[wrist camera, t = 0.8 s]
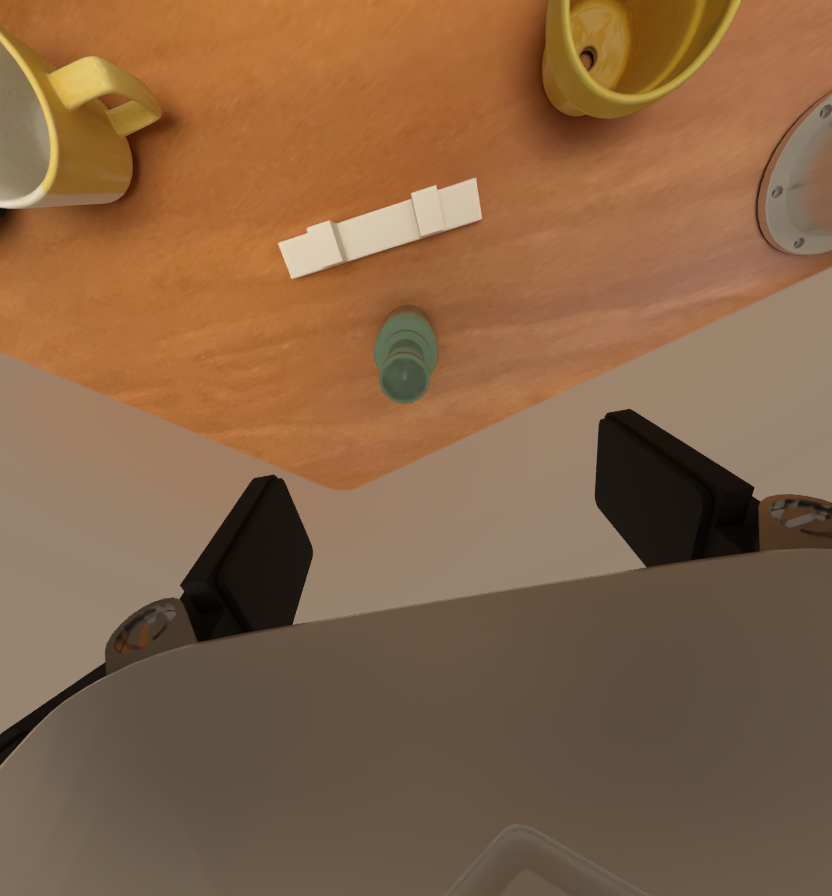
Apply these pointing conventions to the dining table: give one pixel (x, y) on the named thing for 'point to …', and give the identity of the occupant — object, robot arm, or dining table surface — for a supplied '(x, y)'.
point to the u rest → (382, 228)
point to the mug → (65, 128)
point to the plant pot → (627, 50)
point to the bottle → (2, 212)
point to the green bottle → (406, 354)
